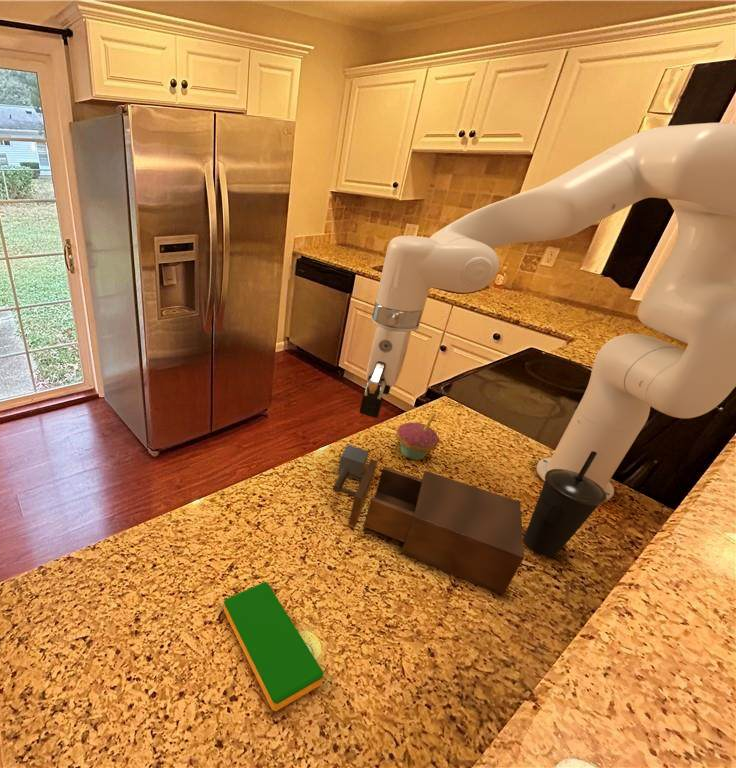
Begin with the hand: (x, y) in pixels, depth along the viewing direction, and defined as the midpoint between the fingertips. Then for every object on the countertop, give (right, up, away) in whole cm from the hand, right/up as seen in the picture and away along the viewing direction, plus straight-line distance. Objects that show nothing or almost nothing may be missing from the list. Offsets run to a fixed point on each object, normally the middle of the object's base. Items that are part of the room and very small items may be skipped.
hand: (374, 402), depth 76 cm
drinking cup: (+26, -24, -6) cm, 36 cm away
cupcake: (+14, -12, +15) cm, 24 cm away
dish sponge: (-22, -32, -21) cm, 44 cm away
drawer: (+1, -20, -2) cm, 20 cm away
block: (-1, -15, +10) cm, 18 cm away
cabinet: (+11, -24, -7) cm, 27 cm away
